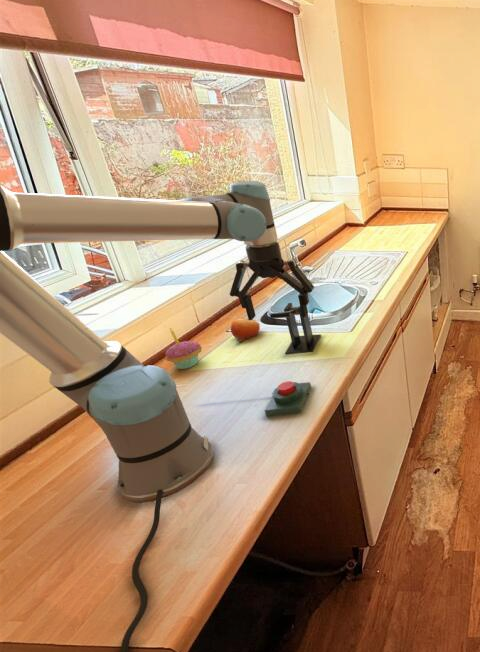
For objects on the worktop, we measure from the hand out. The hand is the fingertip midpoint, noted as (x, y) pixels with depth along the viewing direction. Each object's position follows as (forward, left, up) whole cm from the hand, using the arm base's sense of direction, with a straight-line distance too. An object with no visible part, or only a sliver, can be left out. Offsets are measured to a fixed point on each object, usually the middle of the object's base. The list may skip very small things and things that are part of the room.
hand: (279, 316), depth 111 cm
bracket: (+12, 0, -17) cm, 21 cm away
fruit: (+21, +20, -17) cm, 34 cm away
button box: (-16, -4, -17) cm, 24 cm away
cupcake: (+7, +31, -17) cm, 36 cm away
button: (-16, -4, -14) cm, 22 cm away
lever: (+6, 0, -3) cm, 7 cm away
